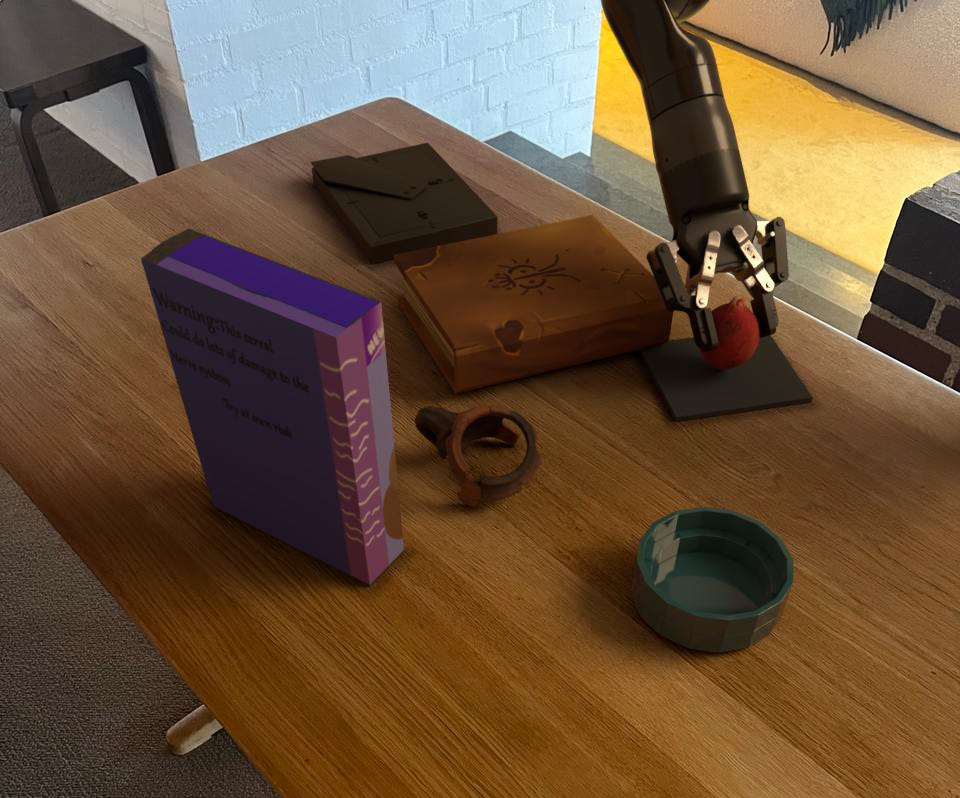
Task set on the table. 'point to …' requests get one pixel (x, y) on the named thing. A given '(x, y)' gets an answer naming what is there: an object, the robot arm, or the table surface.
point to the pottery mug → (470, 425)
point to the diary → (530, 302)
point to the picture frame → (402, 201)
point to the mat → (722, 380)
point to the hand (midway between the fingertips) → (739, 342)
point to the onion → (733, 335)
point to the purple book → (283, 399)
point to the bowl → (711, 579)
